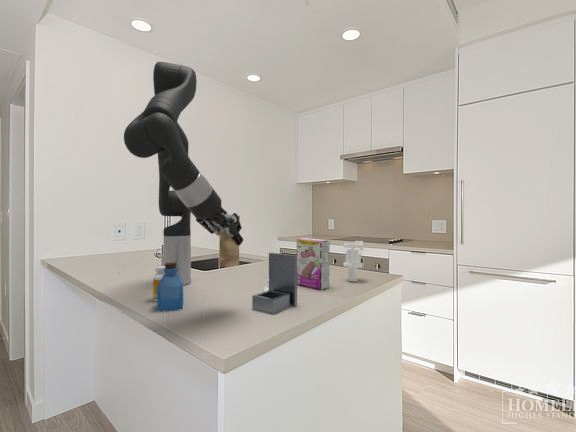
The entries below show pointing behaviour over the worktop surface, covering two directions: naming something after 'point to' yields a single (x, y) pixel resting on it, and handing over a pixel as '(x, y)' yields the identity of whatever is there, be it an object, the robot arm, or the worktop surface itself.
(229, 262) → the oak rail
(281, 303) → the grey holder with backboard
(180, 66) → the robot arm
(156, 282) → the supplement bottle
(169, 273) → the perfume bottle
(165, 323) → the worktop surface
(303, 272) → the candy bar box
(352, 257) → the white upright piece
